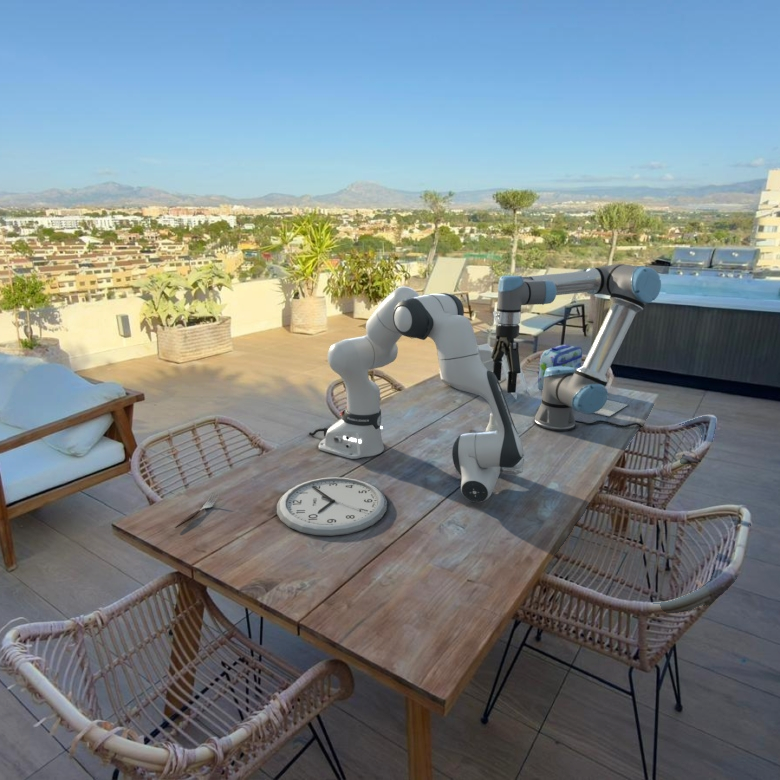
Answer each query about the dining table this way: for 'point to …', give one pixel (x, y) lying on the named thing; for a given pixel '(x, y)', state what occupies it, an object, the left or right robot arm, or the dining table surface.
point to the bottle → (491, 424)
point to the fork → (206, 505)
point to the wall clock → (331, 506)
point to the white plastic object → (487, 361)
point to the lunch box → (559, 360)
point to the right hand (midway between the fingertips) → (503, 386)
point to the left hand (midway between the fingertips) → (493, 449)
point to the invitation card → (610, 408)
